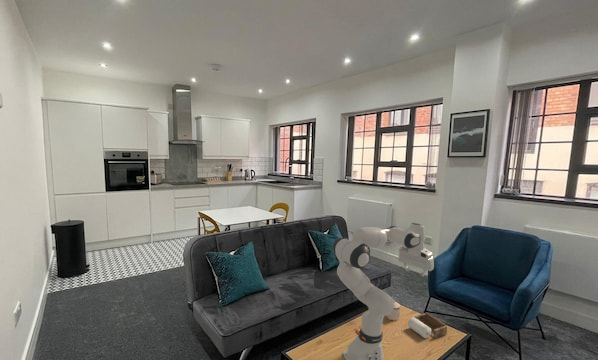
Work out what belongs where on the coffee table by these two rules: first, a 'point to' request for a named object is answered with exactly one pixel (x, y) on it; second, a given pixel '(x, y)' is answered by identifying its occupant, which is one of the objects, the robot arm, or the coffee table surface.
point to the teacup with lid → (394, 312)
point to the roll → (419, 327)
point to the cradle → (433, 324)
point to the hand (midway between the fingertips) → (414, 273)
